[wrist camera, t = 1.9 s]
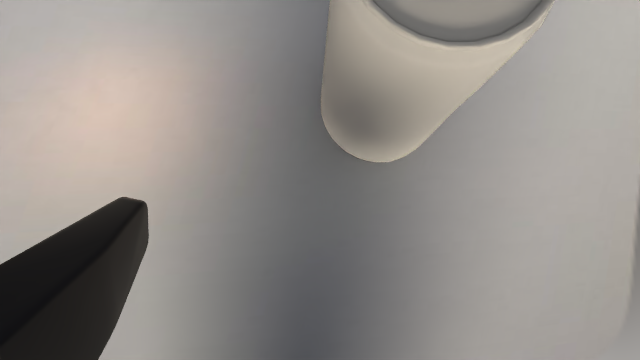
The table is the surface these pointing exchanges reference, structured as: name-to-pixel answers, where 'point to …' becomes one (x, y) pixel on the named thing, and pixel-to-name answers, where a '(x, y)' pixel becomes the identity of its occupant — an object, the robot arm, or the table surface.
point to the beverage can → (413, 65)
